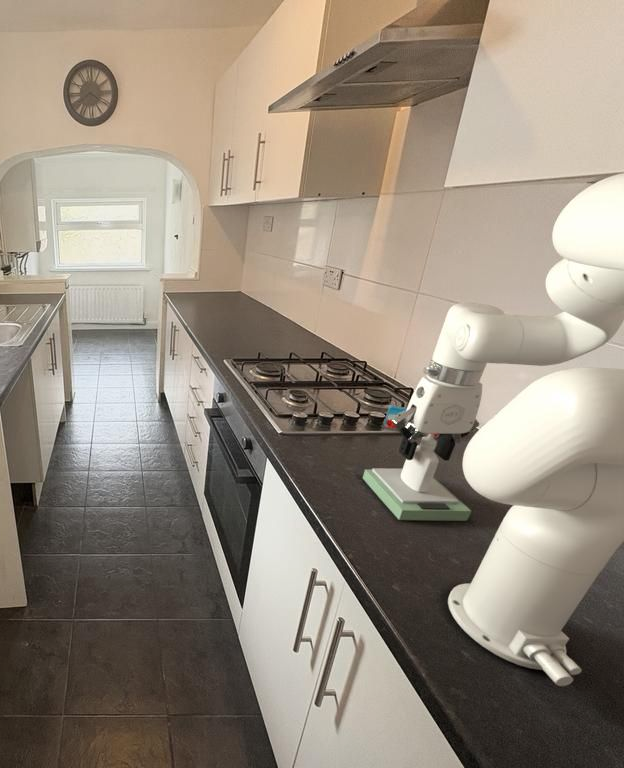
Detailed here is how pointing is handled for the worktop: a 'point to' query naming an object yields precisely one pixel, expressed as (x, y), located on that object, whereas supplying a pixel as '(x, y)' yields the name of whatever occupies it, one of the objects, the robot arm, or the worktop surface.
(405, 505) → the scale
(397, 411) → the yogurt
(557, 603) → the robot arm
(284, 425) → the worktop surface
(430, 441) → the eye dropper bottle
